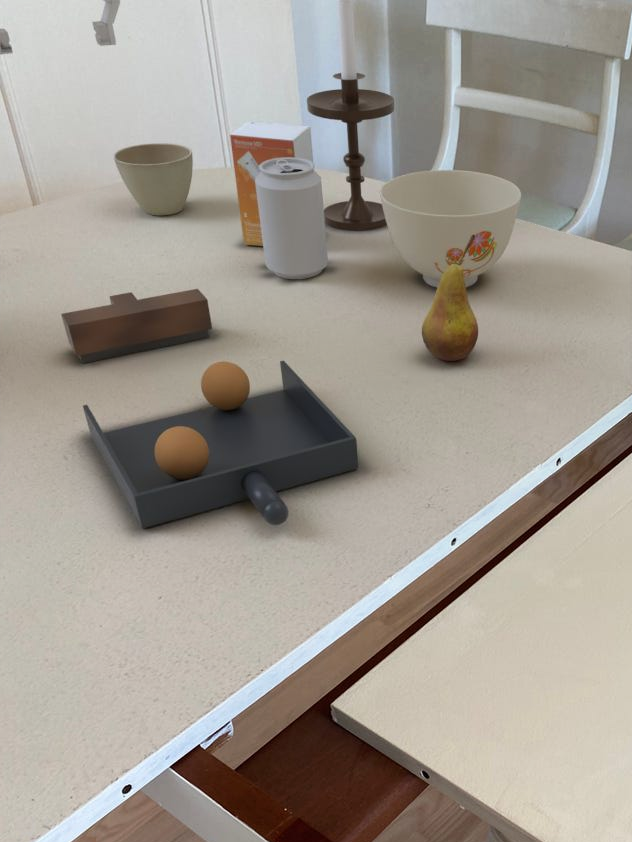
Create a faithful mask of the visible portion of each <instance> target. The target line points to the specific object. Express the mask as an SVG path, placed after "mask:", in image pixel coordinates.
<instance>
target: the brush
mask: <svg viewBox="0 0 632 842" xmlns="http://www.w3.org/2000/svg"><path fill="white" fill-rule="evenodd" d="M109 302H110V304H106V305H101V306H95V307H90V308H85V309H80V310H74V311H69V312H68V311H67V312H63V313H61V315H60V316H61V319H62V322H63V327H64V330H65V334H66V337H67V341H68V344H69V346H70V348H71V349H72V351H73V352H74V354H75V356H77V357H78V358H79V360H80V362H81V363H82V364H87V363H92V362H96V361H101V360H106V359H111V358H116V357H121V356H126V355H131V354H136V353H141V352H145V351H151V350H154V349H155V350H156V349H160V348H165V347H171V346H174V345H179V344H185V343H189V342H194V341H198V340H204V339H209V338H210V333H209V330H212V329H213V324H212V319H211V313H210V307H209V301H208V298H207V297H206V296H205V295H204V294H203V292H202V291H200V289H199V288H194V289H188V290H183V291H182V290H181V291H177V292H172V293H166V294H162V295H156V296H151V297H145V298H139V299H137V297H136V296H135V295H134V293H133V292H131V291H130V292H125V293H124V292H123V293H118V294H114V295H110V296H109Z"/></svg>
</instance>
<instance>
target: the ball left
mask: <svg viewBox="0 0 632 842" xmlns="http://www.w3.org/2000/svg"><path fill="white" fill-rule="evenodd" d="M155 459H156V462H157V464H158V466H159V467H160V468H161V470H162V471H163V472H164V473H166V474H167V475H168V476H170V477H172V478H175V479H180V480H186V479H191V478H194V477H196V476H198V475H199V474H201V473H202V472H203V471H204V469H205V468H206V466H207V464H208V461H209V448H208V445H207V443H206V441H205V439H204V438H203V437H202V435H201V434H200V433H198V432H197V431H195V430H194V429H191V428H189V427H184V426H177V427H172V428H170V429H168V430H166V431H164V432H163V433H162V434H161V435H160V436H159V438H158V440H157V442H156V444H155Z"/></svg>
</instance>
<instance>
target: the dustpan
mask: <svg viewBox="0 0 632 842" xmlns="http://www.w3.org/2000/svg"><path fill="white" fill-rule="evenodd" d="M279 365H280V372H281V373H280V374H281V381H282V382H281V383H282V390H278V391H273V392H269V393H265V394H261V395H256V396H252V397H248V398H247V400H246V401H245V402H244V403H243V404H242V405H241V406H240V407H238V408H236V409H233V410H221V409H218V408H216V407H214V406H210V407H205V408H201V409H197V410H193V411H189V412H184V413H181V414H180V413H179V414H177V415H172V416H168V417H164V418H158V419H155V420H151V421H147V422H142V423H138V424H134V425H129V426H126V427H121V428H118V429H113V430H108V431H105V432H104V431H103V430H102V428H101V426H100V425H99V423H98V421H97V420H96V418H95V416H94V414H93V412H92V411H91V408H90V407H89V406H88V404H83V405H82V409H83V412H84V416H85V420H86V423H87V427H88V430H89V434H90V437H91V440H92V441H93V443H94V445H95V447H96V449H97V451H98V452H99V454H100V456H101V458H102V459H103V462H104V463H105V465H106V466H107V468H108V470H109V472H110V474H111V476H112V477H113V479H114V482H115V483H116V485H117V486H118V488H119V490H120V493H121V494H122V495H123V498H124V499H125V501H126V503H127V504H128V507H129V508H130V510H131V512H132V513H133V515H134V517H135V519H136V521H137V523H138V524H139V526H140V528H141V529H146V528H150V527H153V526H156V525H157V526H158V525H160V524H164V523H167V522H171V521H175V520H178V519H182V518H186V517H189V516H192V515H196V514H199V513H203V512H207V511H210V510H211V511H212V510H214V509H217V508H221V507H224V506H229V505H231V504H235V503H239V502H242V501H246V500H250V501H251V502H252V504H253V505H254V506H255V508H256V510H257V511H258V512H259V513H260V515H261V516H262V518H263V519H264V520H265V521H266V523H268V524H269V525H272V526H280V525H282V524H285V522H286V521H287V520H288V517H289V508H288V506H287V504H286V503H285V502H284V500H283V499H282V498H281V497H280V495H279V494H278V492H279V491H282V490H285V489H290V488H292V487H297V486H300V485H303V484H306V483H312V482H314V481H318V480H321V479H325V478H329V477H332V476H337V475H340V474H342V473H346V472H350V471H354V470H357V469H359V457H358V456H359V455H358V445H357V437H356V436H355V435H354V434H353V433H352V431H350V430H349V429H348V428H347V426H346V425H345V424H344V423H343V422H342V421H341V420H340V419H339V418H338V417H337V415H336V414H334V412H333V411H331V409H330V408H329V407H328V406H327V405H326V404H325V403H324V401H322V400H321V399H320V398H319V397H318V396H317V394H316V393H315V392H314V391H313V390H312V389H311V387H309V386H308V384H306V382H304V380H303V379H302V378H301V377H300V376H299V375H298V374H297V373H296V372H295V371H294V370H293V369H292V368H291V366H290V365H289V364H288V363H287V362H286V361H285V360H280V361H279ZM177 426H184V427H189V428H191V429H194V430H195V431H197V432H198V433H200V434H201V435H202V437H203V438H204V439H205V441H206V443H207V445H208V448H209V461H208V464H207V466H206V468H205V469H204V471H203V472H202V473H201V474H199V475H198V476H196V477H194V478H191V479H186V480H180V479H175V478H172V477H170V476H168V475H167V474H166V473H164V472H163V471H162V470H161V468H160V467H159V466H158V464H157V462H156V459H155V444H156V442H157V440H158V438H159V436H160V435H161V434H162V433H163V432H164V431H166V430H168V429H170V428H172V427H177Z"/></svg>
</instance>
